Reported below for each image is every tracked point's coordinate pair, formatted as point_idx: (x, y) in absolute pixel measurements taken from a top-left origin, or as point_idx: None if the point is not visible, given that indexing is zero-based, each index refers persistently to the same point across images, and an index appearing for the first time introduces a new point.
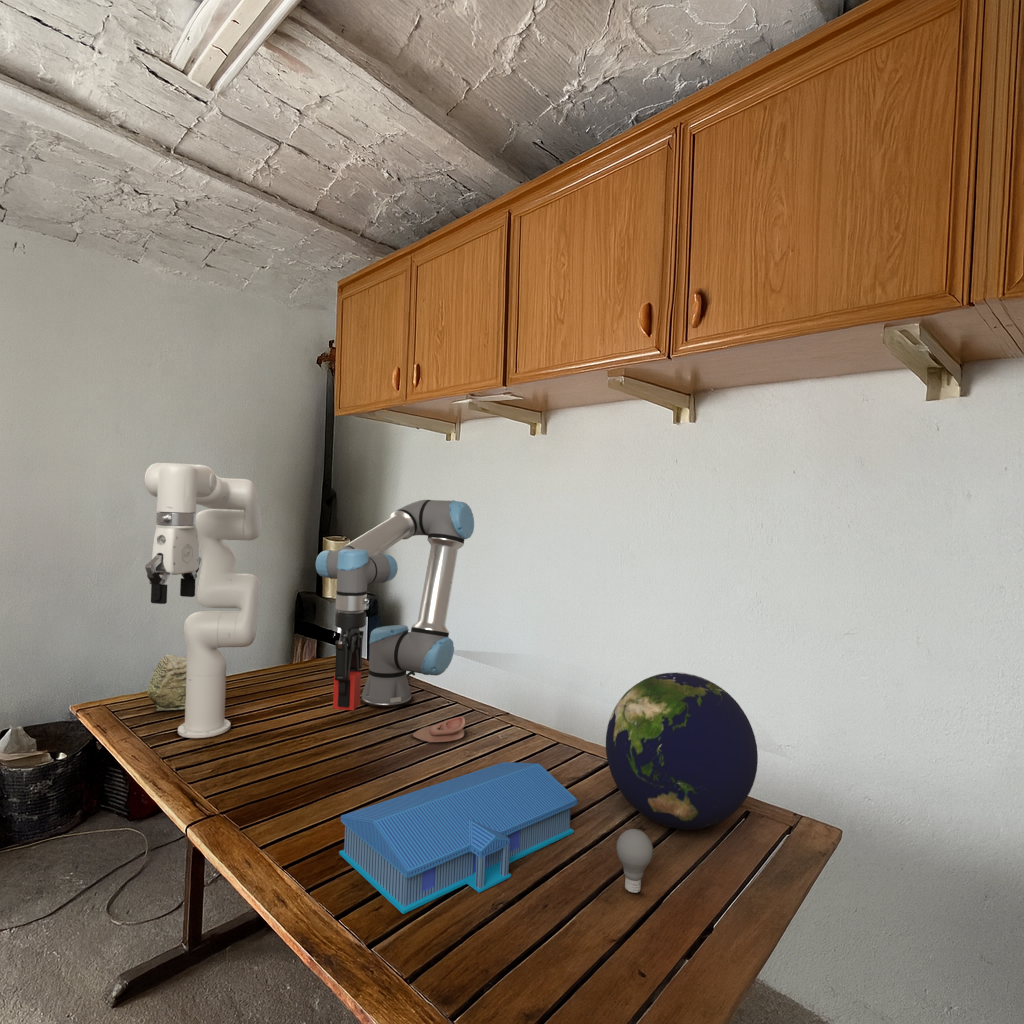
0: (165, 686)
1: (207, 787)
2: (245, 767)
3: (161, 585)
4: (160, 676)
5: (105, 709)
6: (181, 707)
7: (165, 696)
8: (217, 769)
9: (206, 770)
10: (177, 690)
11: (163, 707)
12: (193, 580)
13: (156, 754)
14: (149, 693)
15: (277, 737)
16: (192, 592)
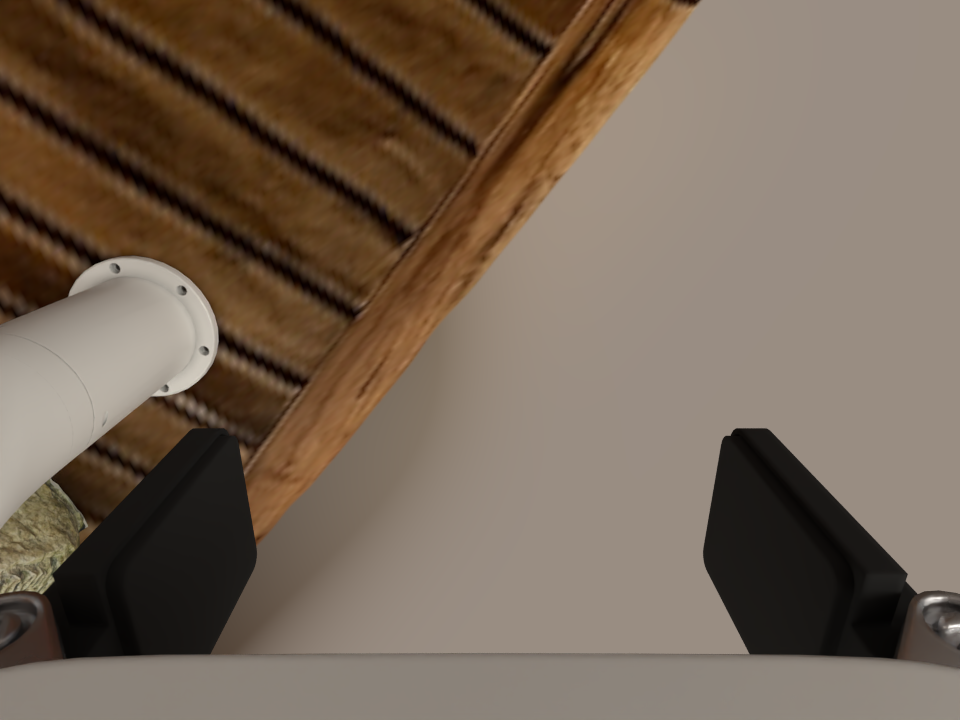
0: (39, 545)
1: (488, 85)
2: (343, 46)
3: (896, 617)
4: (21, 582)
5: None
6: None
7: (57, 526)
8: (378, 126)
9: (392, 154)
10: (19, 513)
11: (73, 514)
12: (107, 569)
13: (337, 346)
14: None
15: (99, 67)
16: (214, 458)
